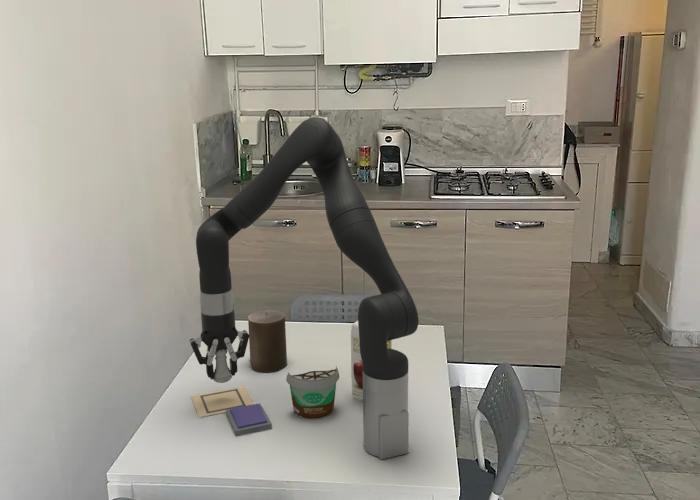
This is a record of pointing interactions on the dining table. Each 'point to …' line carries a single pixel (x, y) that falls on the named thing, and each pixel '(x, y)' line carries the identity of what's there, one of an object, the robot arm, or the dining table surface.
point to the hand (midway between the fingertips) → (222, 375)
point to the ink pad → (248, 419)
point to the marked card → (221, 401)
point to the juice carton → (358, 362)
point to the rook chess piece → (221, 367)
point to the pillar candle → (267, 341)
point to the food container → (313, 393)
